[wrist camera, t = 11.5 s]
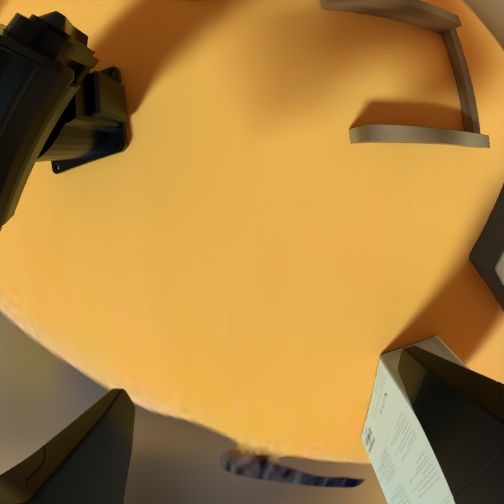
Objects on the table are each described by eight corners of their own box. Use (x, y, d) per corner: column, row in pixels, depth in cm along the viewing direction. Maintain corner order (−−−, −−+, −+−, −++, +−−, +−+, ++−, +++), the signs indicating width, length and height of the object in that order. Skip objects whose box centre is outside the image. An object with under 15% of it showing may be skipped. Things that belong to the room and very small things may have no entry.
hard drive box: (409, 418, 27) (463, 525, 8) (359, 436, 27) (402, 557, 8) (439, 331, 22) (547, 463, 4) (377, 352, 22) (476, 528, 4)
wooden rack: (350, 143, 17) (370, 140, 14) (319, -1, 13) (330, -20, 10) (473, 147, 17) (496, 148, 14) (446, 28, 13) (465, 19, 10)
